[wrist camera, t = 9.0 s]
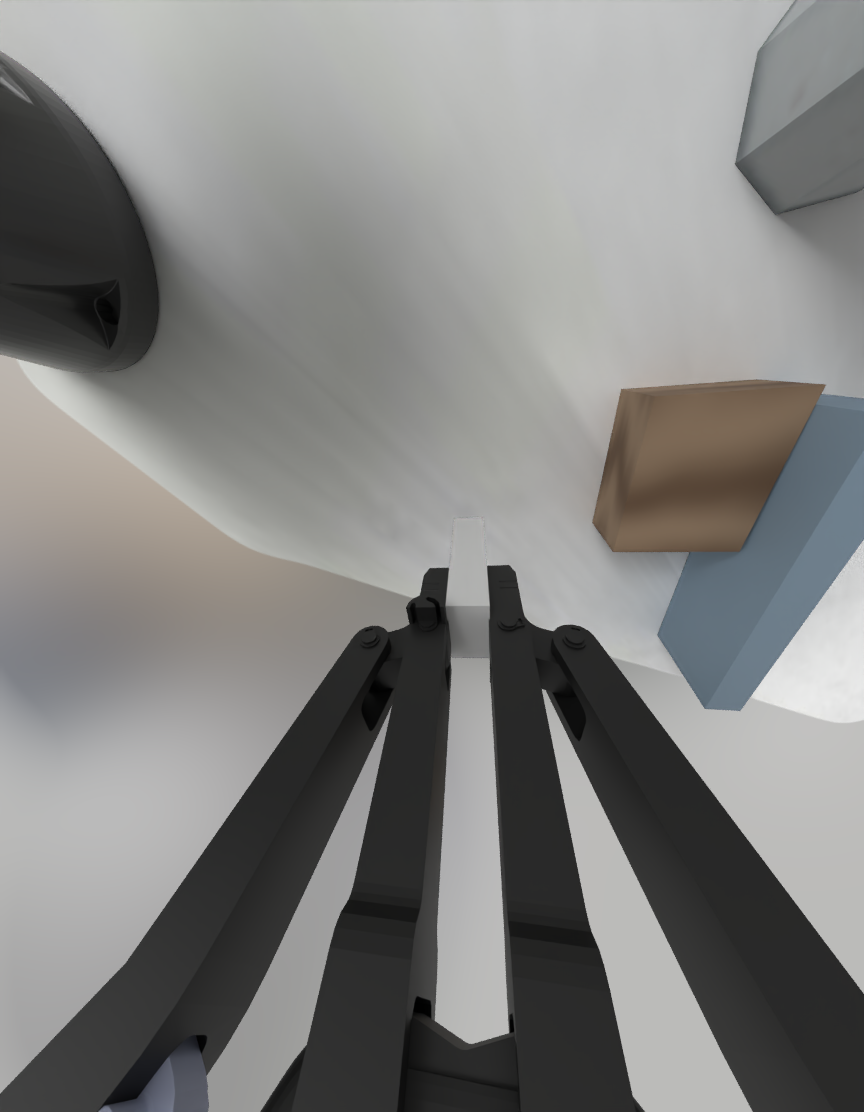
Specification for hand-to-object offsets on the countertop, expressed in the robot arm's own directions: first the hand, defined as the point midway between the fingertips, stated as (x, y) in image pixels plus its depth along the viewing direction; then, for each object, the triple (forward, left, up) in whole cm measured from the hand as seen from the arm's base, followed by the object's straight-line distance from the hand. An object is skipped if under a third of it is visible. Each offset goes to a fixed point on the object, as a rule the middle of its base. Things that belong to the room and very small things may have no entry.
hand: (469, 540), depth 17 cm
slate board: (+7, +19, -11) cm, 23 cm away
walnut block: (0, +14, -11) cm, 18 cm away
